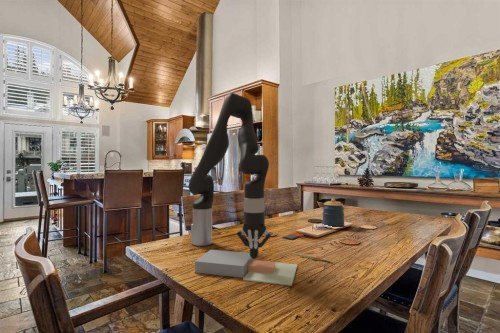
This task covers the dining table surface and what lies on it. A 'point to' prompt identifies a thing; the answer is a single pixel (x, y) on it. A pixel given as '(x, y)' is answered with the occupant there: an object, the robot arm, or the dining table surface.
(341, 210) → the lidded jar
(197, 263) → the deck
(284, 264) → the mat
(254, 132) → the robot arm
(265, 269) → the block
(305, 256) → the sword
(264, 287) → the dining table surface
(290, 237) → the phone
